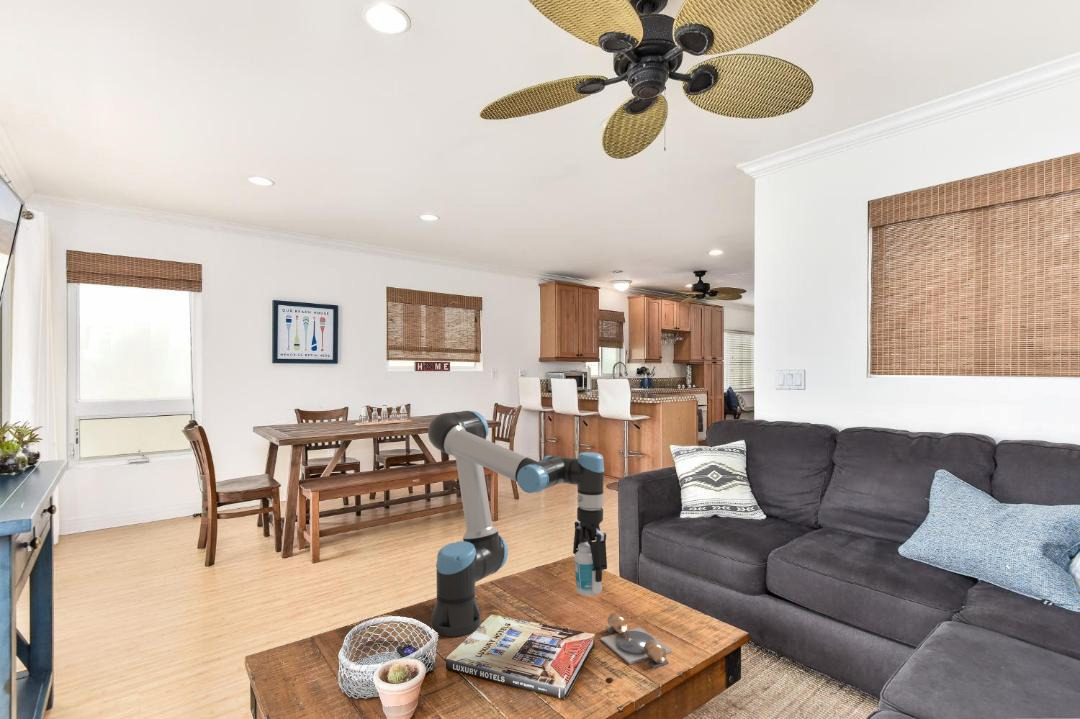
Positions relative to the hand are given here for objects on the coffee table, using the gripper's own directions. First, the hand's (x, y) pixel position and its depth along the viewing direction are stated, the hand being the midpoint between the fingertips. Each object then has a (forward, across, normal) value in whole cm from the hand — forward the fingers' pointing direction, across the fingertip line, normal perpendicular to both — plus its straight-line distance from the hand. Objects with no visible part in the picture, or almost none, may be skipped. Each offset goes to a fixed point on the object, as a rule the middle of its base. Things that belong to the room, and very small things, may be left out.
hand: (589, 586), depth 150 cm
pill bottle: (+2, 0, 0) cm, 2 cm away
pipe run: (+15, +8, +10) cm, 20 cm away
